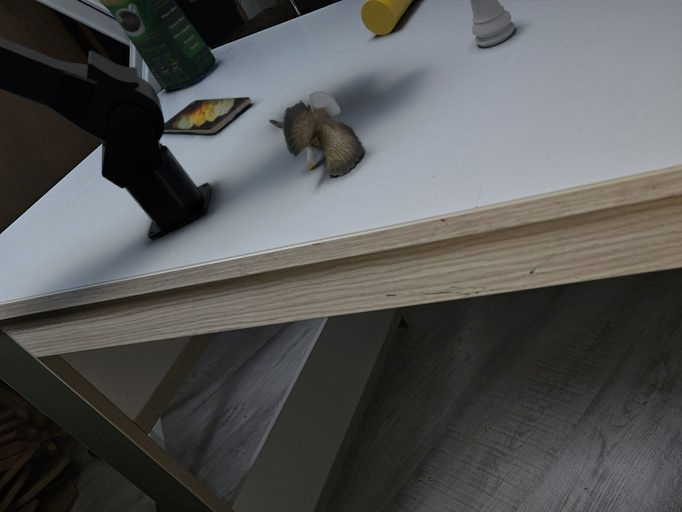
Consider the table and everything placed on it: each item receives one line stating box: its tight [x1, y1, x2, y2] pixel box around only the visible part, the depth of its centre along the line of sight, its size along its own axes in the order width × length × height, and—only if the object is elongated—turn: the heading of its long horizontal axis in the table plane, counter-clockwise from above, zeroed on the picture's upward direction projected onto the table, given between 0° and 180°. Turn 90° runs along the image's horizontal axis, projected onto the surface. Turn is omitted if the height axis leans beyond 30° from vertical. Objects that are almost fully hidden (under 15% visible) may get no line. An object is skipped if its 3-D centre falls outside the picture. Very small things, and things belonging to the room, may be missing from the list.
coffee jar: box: [98, 0, 217, 91], centre depth 103 cm, size 10×8×19 cm
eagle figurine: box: [268, 90, 363, 177], centre depth 65 cm, size 8×7×9 cm
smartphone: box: [164, 96, 252, 134], centre depth 91 cm, size 7×1×15 cm
